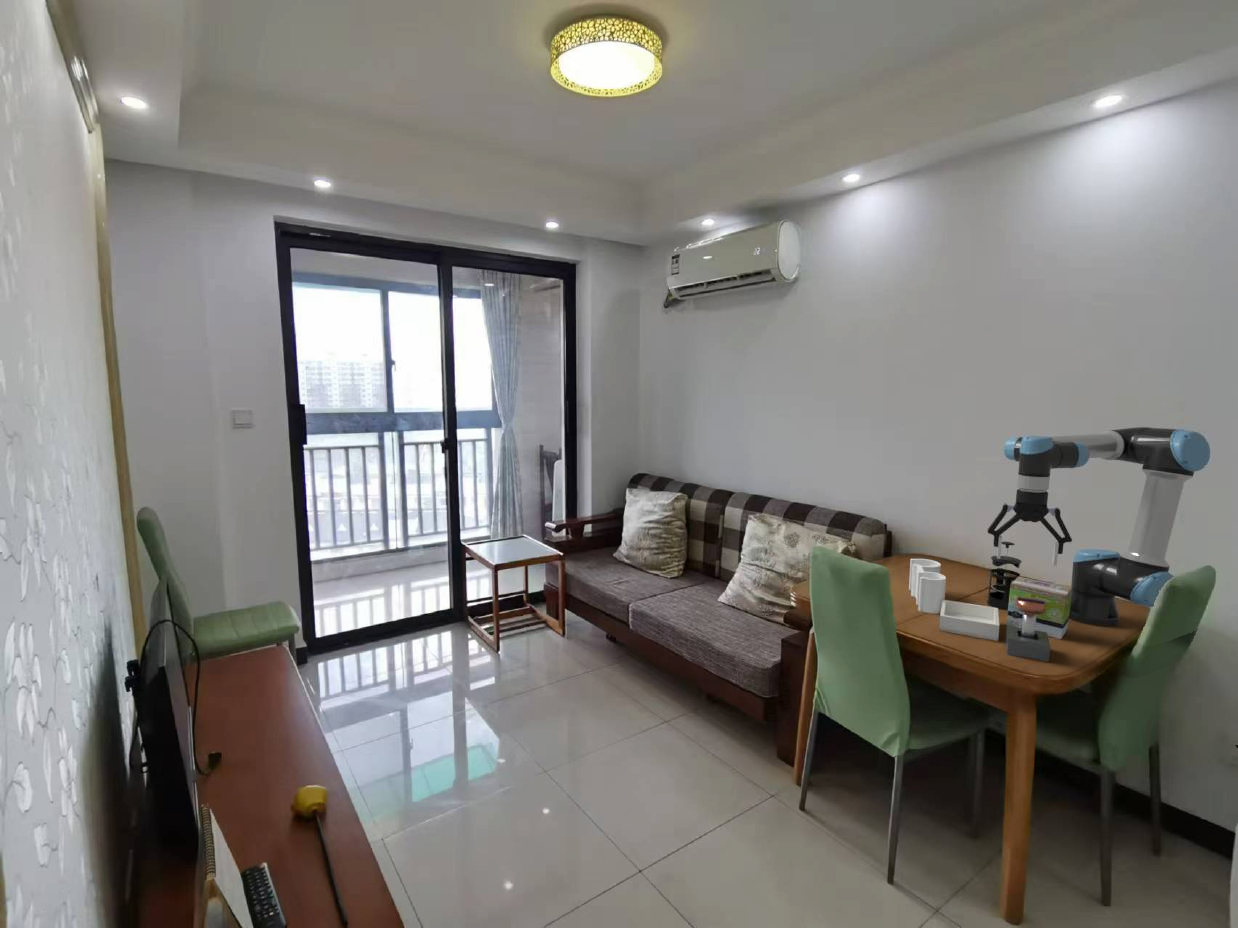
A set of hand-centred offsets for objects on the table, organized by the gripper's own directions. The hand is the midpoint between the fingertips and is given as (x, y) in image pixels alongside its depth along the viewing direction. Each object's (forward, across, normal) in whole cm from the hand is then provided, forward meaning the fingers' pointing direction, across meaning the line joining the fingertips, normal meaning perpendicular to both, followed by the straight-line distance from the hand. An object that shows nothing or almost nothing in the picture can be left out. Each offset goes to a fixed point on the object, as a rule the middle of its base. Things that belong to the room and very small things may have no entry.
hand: (1025, 561), depth 175 cm
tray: (+27, +13, -11) cm, 32 cm away
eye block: (+27, -2, +2) cm, 27 cm away
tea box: (+27, -6, -20) cm, 34 cm away
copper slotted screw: (+27, -2, +2) cm, 27 cm away
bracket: (+27, +26, -30) cm, 48 cm away
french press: (+27, +3, -38) cm, 46 cm away
